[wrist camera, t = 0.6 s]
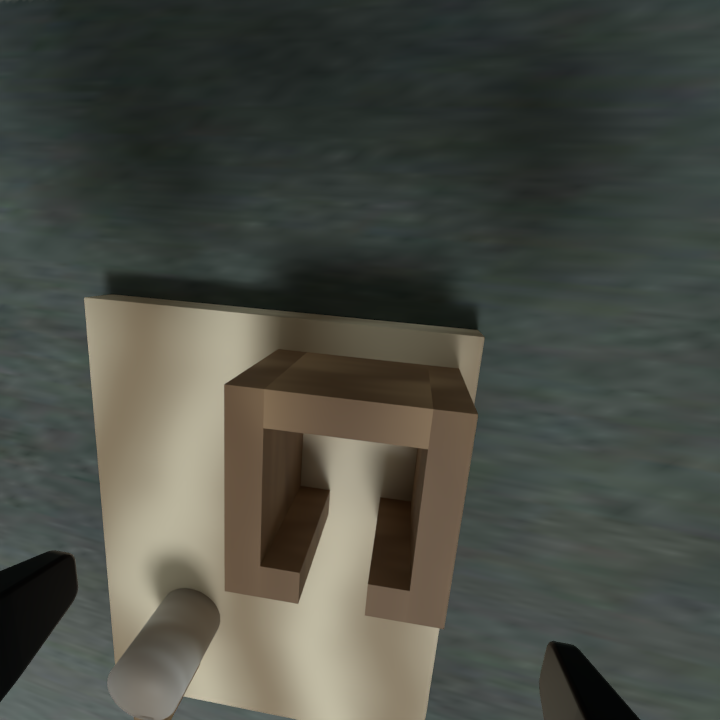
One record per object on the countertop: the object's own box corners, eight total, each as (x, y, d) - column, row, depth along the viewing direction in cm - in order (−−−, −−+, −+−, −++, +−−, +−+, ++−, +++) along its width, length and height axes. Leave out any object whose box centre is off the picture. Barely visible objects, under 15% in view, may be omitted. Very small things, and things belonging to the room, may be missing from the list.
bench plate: (478, 330, 16) (506, 361, 11) (420, 710, 20) (422, 850, 15) (111, 294, 17) (-7, 307, 12) (136, 654, 22) (58, 766, 17)
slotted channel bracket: (459, 368, 15) (477, 414, 10) (436, 530, 16) (443, 629, 12) (278, 349, 15) (224, 384, 11) (273, 505, 17) (224, 591, 13)
